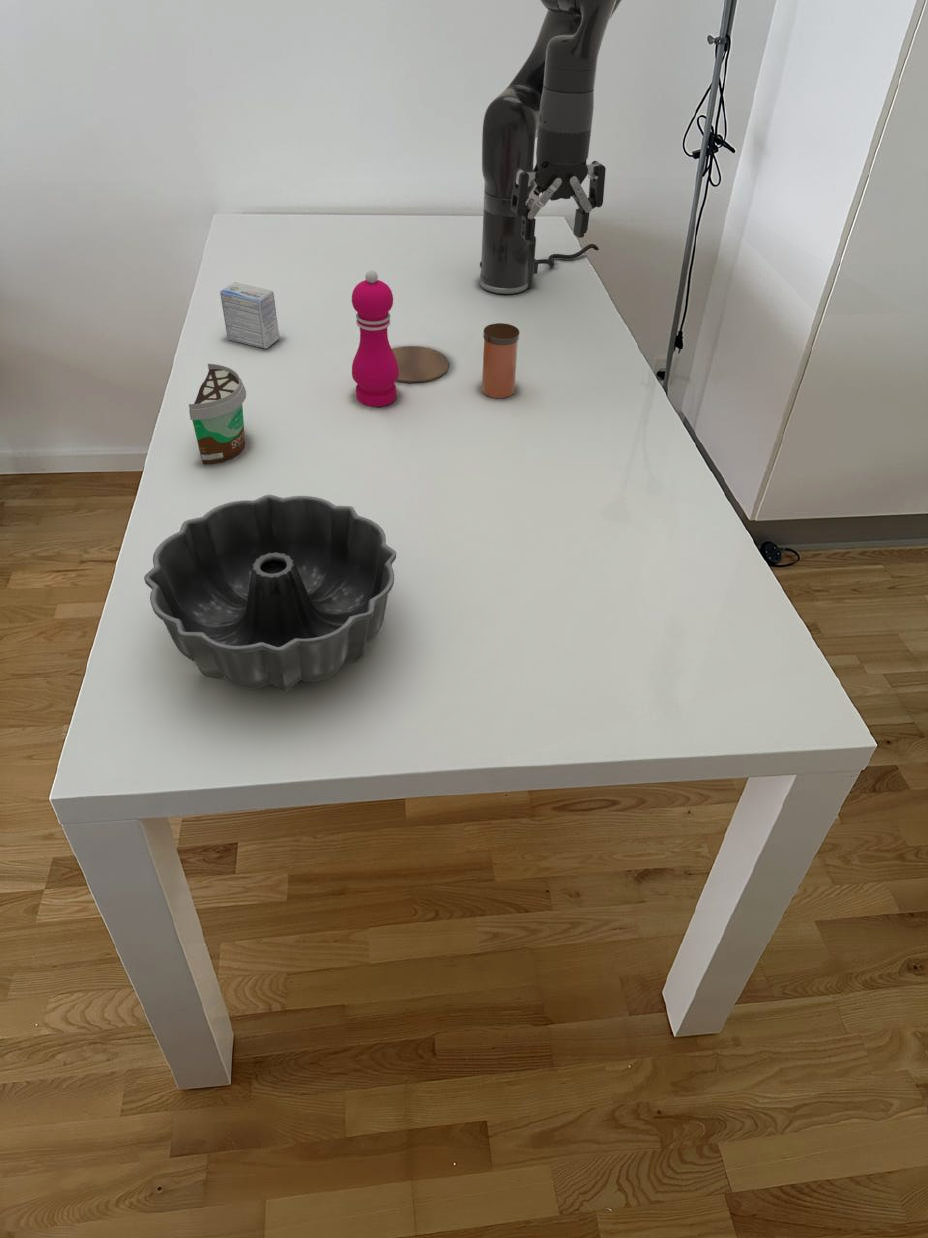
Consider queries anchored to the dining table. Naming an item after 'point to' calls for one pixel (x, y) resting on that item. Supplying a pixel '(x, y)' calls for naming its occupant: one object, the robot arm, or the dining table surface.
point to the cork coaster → (419, 364)
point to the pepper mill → (374, 343)
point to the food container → (219, 415)
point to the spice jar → (499, 360)
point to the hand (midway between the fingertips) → (553, 238)
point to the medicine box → (250, 315)
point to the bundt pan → (273, 589)
